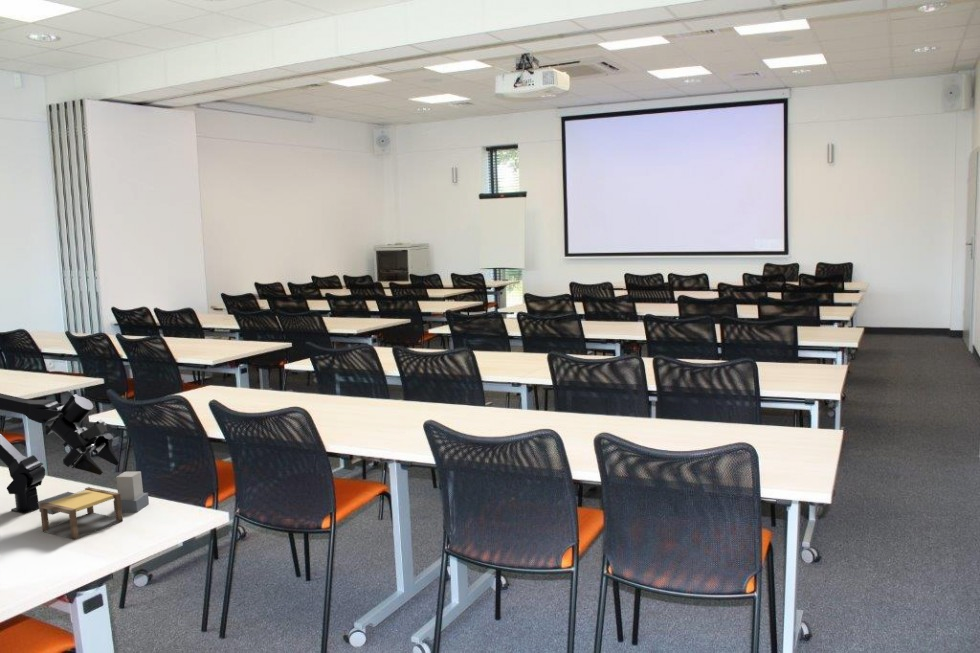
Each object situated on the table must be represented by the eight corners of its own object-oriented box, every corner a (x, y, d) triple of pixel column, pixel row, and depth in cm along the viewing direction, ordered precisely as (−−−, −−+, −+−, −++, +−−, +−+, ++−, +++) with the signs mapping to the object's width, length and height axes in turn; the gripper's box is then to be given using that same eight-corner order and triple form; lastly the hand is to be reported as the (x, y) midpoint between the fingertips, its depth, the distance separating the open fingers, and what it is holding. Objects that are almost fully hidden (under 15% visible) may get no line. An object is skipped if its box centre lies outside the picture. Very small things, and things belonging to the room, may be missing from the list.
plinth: (114, 512, 243) (113, 500, 243) (126, 504, 250) (125, 492, 250) (137, 512, 243) (136, 500, 242) (149, 503, 250) (147, 492, 249)
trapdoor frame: (42, 531, 229) (39, 503, 228) (91, 514, 242) (88, 487, 241) (74, 539, 223) (71, 510, 222) (122, 521, 236) (120, 493, 235)
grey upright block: (118, 499, 244) (116, 476, 243) (127, 494, 249) (125, 471, 248) (134, 499, 243) (132, 476, 242) (143, 493, 248) (141, 471, 247)
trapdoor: (34, 513, 233) (32, 499, 232) (73, 500, 243) (72, 486, 243) (75, 523, 224) (74, 508, 223) (114, 508, 234) (113, 494, 234)
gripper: (68, 422, 234) (109, 459, 235) (104, 407, 253) (142, 441, 253) (45, 449, 236) (86, 486, 237) (82, 432, 255) (120, 466, 255)
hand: (110, 468), depth 245 cm, fingers open, 9 cm apart
